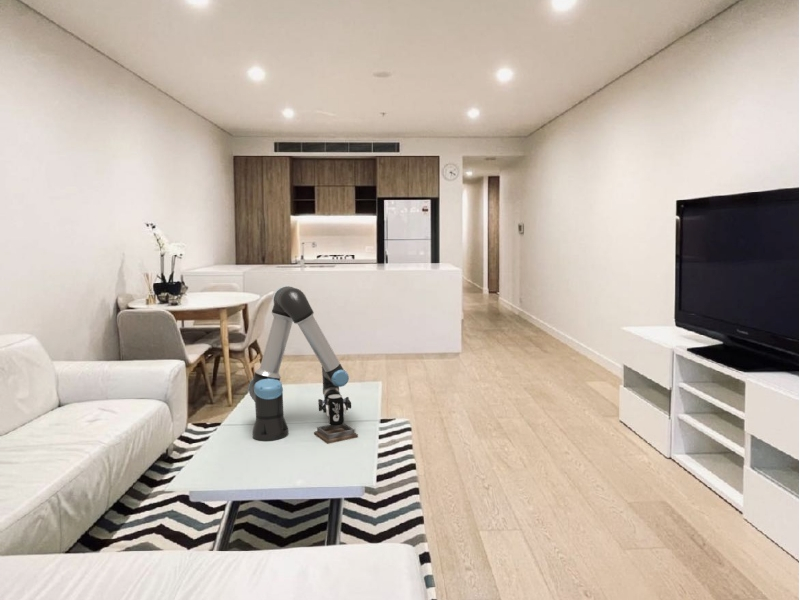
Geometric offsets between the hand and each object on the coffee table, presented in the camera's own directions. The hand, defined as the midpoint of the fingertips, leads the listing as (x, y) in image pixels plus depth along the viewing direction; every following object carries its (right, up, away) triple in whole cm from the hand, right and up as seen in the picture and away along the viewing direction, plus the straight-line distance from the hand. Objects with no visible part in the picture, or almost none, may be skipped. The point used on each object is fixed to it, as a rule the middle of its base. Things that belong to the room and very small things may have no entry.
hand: (336, 411), depth 237 cm
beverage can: (-1, -6, +6) cm, 8 cm away
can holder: (-1, -11, +6) cm, 13 cm away
